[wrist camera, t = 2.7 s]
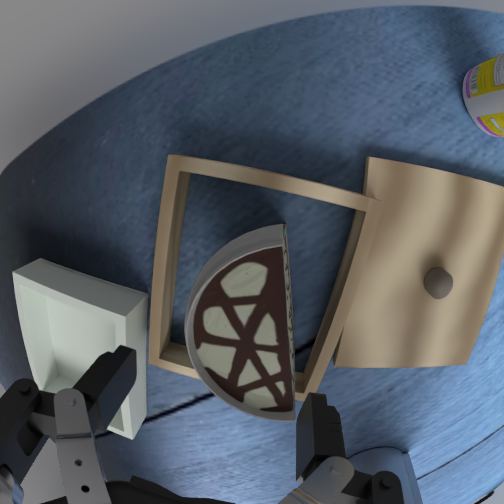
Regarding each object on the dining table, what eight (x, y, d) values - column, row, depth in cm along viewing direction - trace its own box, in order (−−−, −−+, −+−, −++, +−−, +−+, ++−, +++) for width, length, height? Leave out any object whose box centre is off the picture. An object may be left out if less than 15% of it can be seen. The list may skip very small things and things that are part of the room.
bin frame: (371, 196, 22) (383, 201, 19) (309, 382, 27) (311, 402, 24) (182, 155, 23) (168, 154, 20) (160, 346, 28) (148, 363, 25)
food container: (205, 211, 24) (153, 244, 14) (284, 203, 23) (282, 232, 13) (227, 346, 27) (200, 425, 17) (295, 343, 26) (295, 426, 17)
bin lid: (507, 188, 20) (521, 191, 18) (462, 359, 25) (470, 370, 23) (365, 156, 21) (373, 156, 19) (333, 360, 26) (335, 375, 24)
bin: (148, 293, 26) (125, 316, 22) (146, 414, 31) (132, 439, 27) (40, 257, 27) (12, 271, 23) (56, 374, 32) (38, 393, 28)
